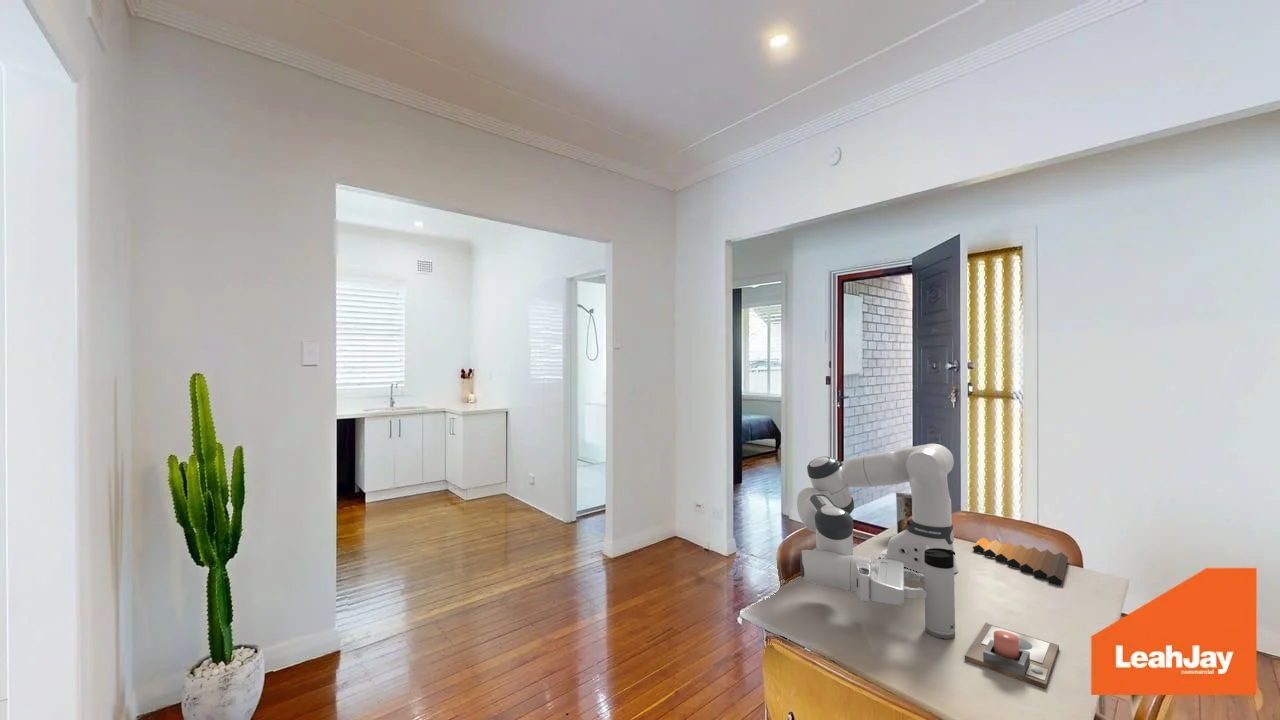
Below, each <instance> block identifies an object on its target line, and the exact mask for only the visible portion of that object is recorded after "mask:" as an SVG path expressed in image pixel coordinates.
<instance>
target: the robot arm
mask: <svg viewBox="0 0 1280 720" xmlns="http://www.w3.org/2000/svg"><path fill="white" fill-rule="evenodd" d="M954 460H955V459H954V456H953V453H952V452H951V451H950V449H948V448H947V447H945V446H944V445H942V444H940V443H939V444H938V443H927V444H921V445H916V446H915V445H914V446H910V447H905V448H900V449H895V450H888V451H884V452H877V453H870V454H869V453H868V454H865V455H859V456H855V457H851V458H848V459H846V460H843V461H841V460H839V459H835V458H834V457H830V456H819V457H816V458H814V459H812V460H811V461H810V462H809V463H808V464H807V467H806V470H807V475H808V477H809V479H810V482H811V486H812V487H806V488H803V489H801V490H800V492H799V493H798V494H797V497H796V498H797V499H796V507H797V509H796V510H797V512H798V516H799V518H800V520H801V522H802V524H803V526H804V527H805V528H806V529H807V530H809V531H811V532H812V533H815V537H816V538H815V541H816V545H815V547H814V548H813V549H804V550H803V549H802V550H801V552H800V554H799V561H800V562H799V564H800V575H801V577H802V579H803V580H805V581H807V582H809V583H812V584H815V585H818V586H822V587H828V588H831V589H832V588H833V589H839V588H841V589H845V590H847V591H849V592H853V593H856V595H857V596H858V598H859V600H860V601H862V602H867V603H868V602H870V601H873V602H875V603H881V604H884V605H892V606H903V605H905V598H906V599H917V598H919V599H925V598H926V589H925V587H923V588H922V587H917V588H913V587H909V586H907V585H906V586H905V580H908V581H909V580H912V581H915V582H917V583H920V584H921V583H922V584H925V581H924V559H925V558H924V553H925V550H927V549H931V548H942V549H947V550H953V551H954V545H953V543H954V539H955V535H954V533H955V532H954V531H955V530H954V525H953V524H952V499H951V495H950V491H949V484H948V483H949V482H948V474H949V473H950V472H951V471H952V470H953V468H954V465H955V463H954V462H955V461H954ZM908 482H909V487H910V492H911V493H910V494H912V516H911V517H909V518H908V520H907V521H906V522H905V526H906V528H907V529H906V530H904V531H902V532H900V533H898V534H897V533H896V534H895V535H893V536H892V537H891V538H890V539H889V541H888V543H887V548H885V549H883V550H881V551H880V553H879V558H875V559H873V560H872V558H871V557H864V556H858V555H854V541H853V540H854V539H853V537H854V535H853V532H854V519H853V517H852V515H851V514H852V512H853V511H854V509H855V501H854V498H853V496H852V494H851V490H850V488H875V487H885V486H892V485H901V484H903V483H908ZM955 556H956V555H954V562H953V563H954V574H957V573H958V572H959V568H958V565H957V560H956V558H955ZM880 558H882V559H880ZM904 567H906V568H904ZM907 568H908V569H907ZM910 569H911V570H910ZM913 570H914V571H913ZM916 571H917V572H916Z"/></svg>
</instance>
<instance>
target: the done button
mask: <svg viewBox="0 0 1280 720" xmlns="http://www.w3.org/2000/svg"><path fill="white" fill-rule="evenodd" d="M994 653H995V654H998V655H1001V656H1004V657H1007V658H1010V659H1013V660H1019V638H1018V637H1017V636H1016V635H1014V634H1012V633H1009V632H1006V631H994Z"/></svg>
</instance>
